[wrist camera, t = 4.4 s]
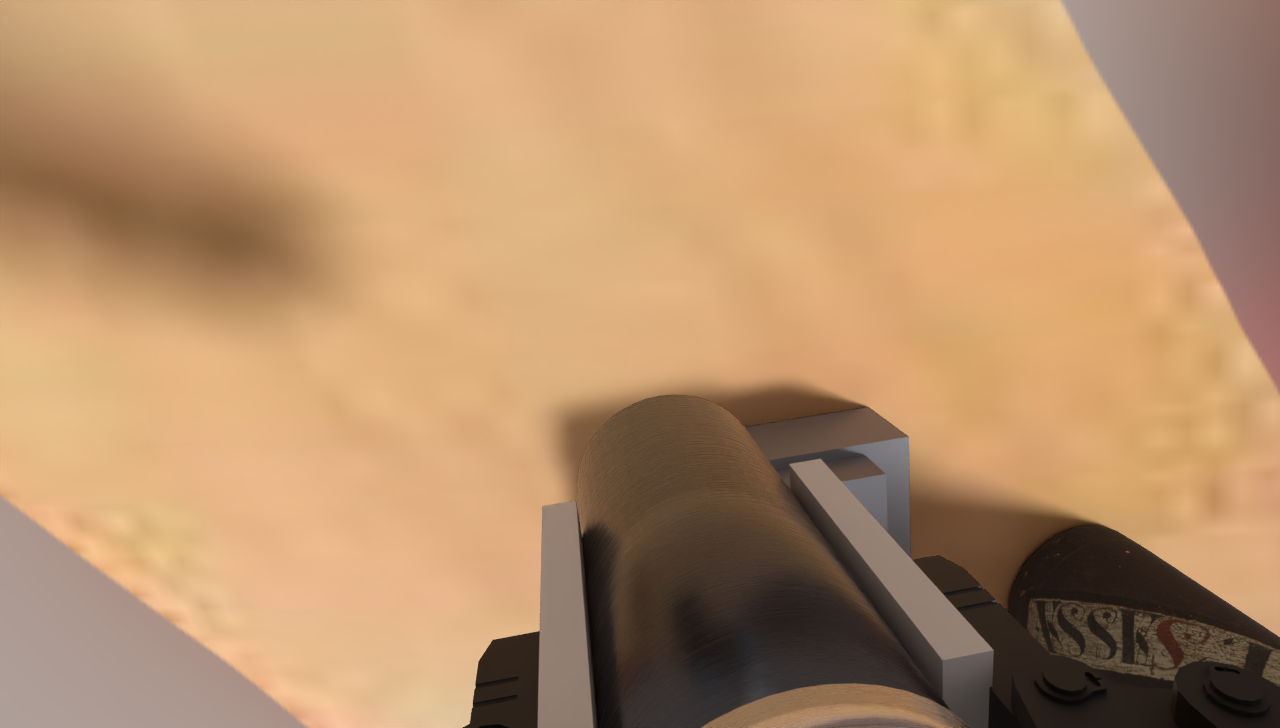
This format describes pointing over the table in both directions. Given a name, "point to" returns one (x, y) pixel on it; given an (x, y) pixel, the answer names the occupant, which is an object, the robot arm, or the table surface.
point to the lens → (726, 589)
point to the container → (1132, 612)
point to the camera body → (849, 460)
